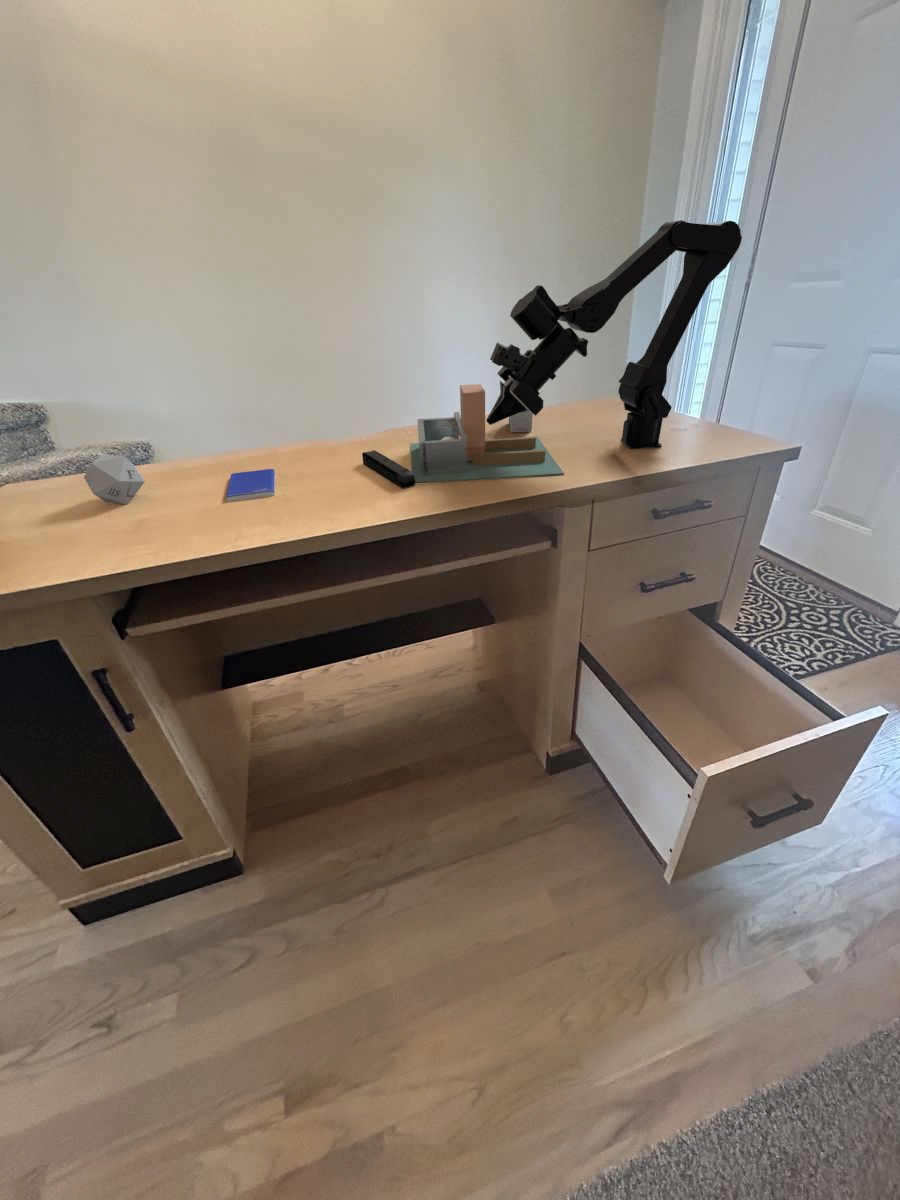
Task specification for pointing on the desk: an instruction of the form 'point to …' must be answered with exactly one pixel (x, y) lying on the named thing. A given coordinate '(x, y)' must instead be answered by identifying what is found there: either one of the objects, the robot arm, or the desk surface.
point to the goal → (442, 445)
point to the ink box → (521, 421)
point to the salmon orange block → (473, 418)
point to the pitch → (497, 462)
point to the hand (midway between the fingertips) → (488, 422)
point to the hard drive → (251, 485)
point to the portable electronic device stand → (388, 469)
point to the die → (113, 479)
